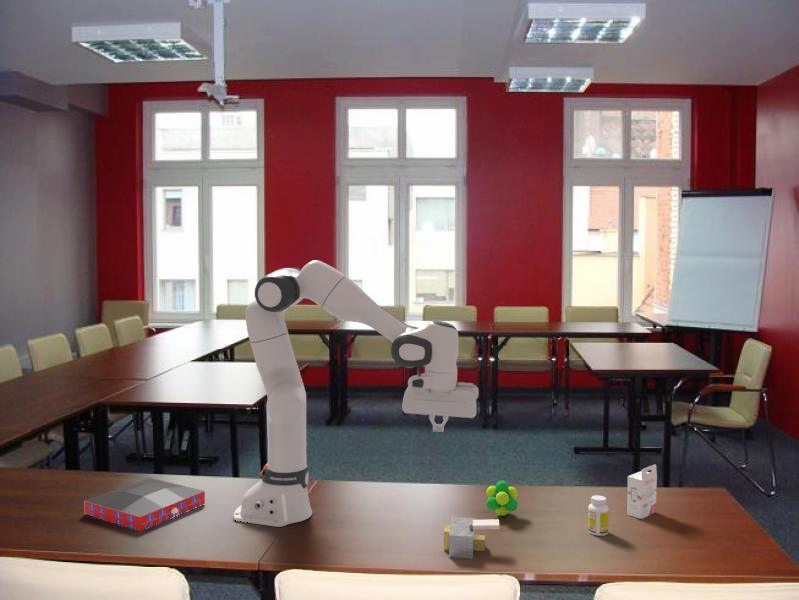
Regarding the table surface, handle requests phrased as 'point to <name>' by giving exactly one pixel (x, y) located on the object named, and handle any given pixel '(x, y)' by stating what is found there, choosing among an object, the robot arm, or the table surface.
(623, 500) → the table surface
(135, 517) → the building model
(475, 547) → the lynch pin
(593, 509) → the supplement bottle
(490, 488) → the molecule model
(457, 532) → the block
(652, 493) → the ink cartridge box
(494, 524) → the bar
